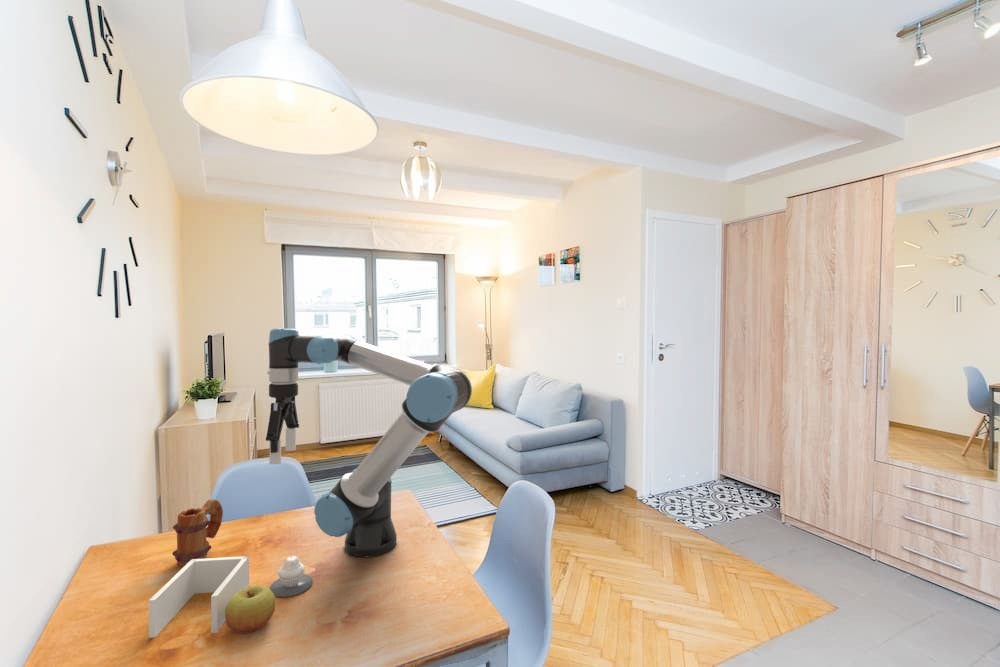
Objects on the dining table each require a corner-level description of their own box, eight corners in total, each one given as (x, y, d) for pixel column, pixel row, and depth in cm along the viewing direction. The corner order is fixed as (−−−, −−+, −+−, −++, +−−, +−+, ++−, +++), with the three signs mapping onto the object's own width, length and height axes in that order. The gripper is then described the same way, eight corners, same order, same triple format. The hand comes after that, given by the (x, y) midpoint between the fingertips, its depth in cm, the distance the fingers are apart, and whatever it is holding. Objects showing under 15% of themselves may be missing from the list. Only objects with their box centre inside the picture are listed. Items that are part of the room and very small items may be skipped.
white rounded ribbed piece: (285, 577, 120) (285, 550, 120) (308, 577, 119) (308, 551, 119) (273, 590, 113) (273, 562, 113) (297, 591, 113) (297, 563, 113)
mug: (189, 572, 122) (189, 516, 122) (164, 569, 124) (164, 514, 124) (232, 547, 136) (232, 497, 136) (208, 544, 138) (208, 494, 138)
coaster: (316, 574, 122) (316, 572, 122) (306, 596, 112) (306, 594, 112) (277, 576, 121) (277, 574, 121) (263, 599, 111) (263, 596, 111)
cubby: (249, 587, 116) (249, 556, 116) (217, 632, 99) (217, 595, 99) (191, 591, 114) (191, 559, 114) (148, 637, 97) (148, 600, 97)
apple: (221, 645, 95) (221, 607, 95) (228, 618, 104) (228, 583, 104) (274, 633, 99) (274, 596, 99) (276, 607, 108) (276, 574, 107)
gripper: (283, 377, 142) (283, 445, 143) (252, 388, 118) (252, 470, 118) (309, 377, 143) (308, 445, 144) (283, 388, 119) (283, 469, 119)
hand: (283, 456), depth 131 cm, fingers open, 13 cm apart
